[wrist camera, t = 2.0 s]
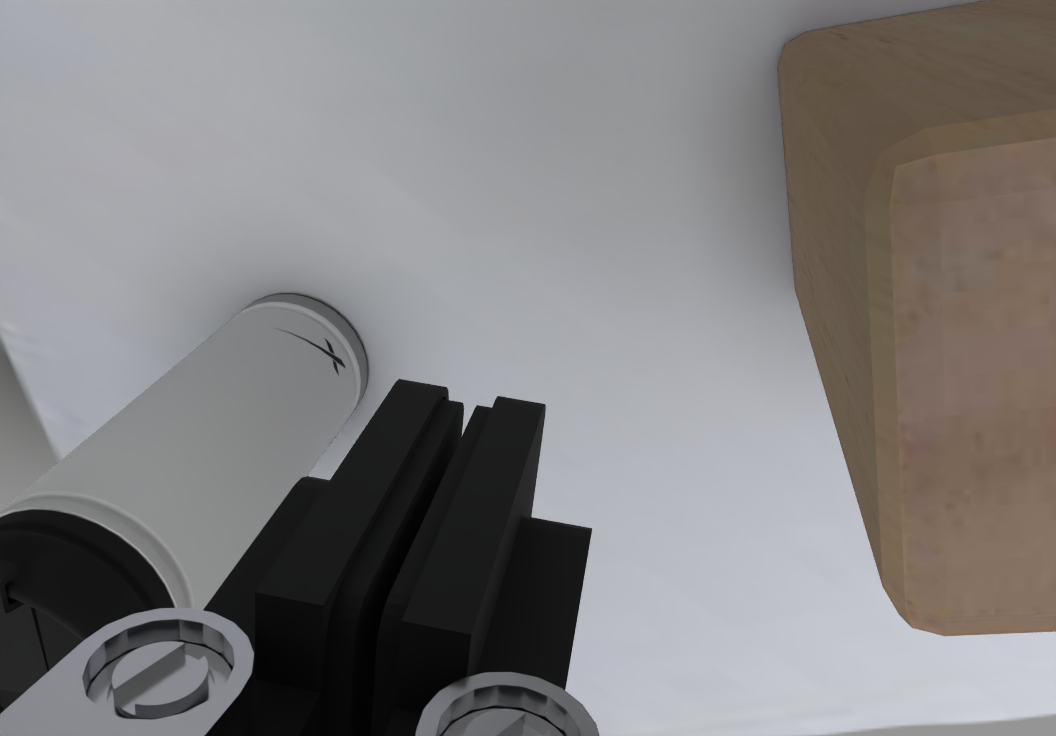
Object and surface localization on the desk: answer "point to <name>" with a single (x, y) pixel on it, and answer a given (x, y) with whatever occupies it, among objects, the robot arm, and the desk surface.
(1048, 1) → the block
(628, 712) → the desk surface
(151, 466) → the travel mug
